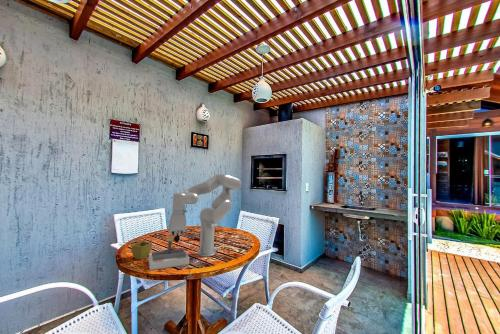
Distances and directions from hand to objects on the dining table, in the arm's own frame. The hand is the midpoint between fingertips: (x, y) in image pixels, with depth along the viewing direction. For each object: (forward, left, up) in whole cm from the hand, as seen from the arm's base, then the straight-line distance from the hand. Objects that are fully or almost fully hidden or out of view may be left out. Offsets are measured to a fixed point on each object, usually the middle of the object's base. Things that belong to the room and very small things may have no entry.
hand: (176, 241), depth 138 cm
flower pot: (+19, -15, -13) cm, 27 cm away
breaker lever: (+4, 0, -8) cm, 9 cm away
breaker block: (+4, 0, -12) cm, 13 cm away
